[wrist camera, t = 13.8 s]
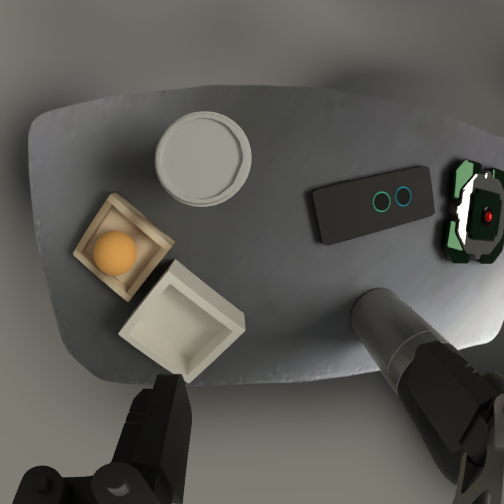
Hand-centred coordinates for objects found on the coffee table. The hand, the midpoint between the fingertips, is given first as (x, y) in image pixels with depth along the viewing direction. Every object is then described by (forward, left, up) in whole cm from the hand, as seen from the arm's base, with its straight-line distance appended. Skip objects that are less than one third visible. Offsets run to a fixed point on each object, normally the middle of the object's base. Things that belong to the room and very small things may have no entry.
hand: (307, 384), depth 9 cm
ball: (+11, +15, -29) cm, 34 cm away
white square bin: (-3, +18, -33) cm, 37 cm away
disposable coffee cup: (+9, -2, -33) cm, 34 cm away
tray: (+11, +15, -33) cm, 38 cm away
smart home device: (-12, -14, -34) cm, 39 cm away
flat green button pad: (-29, -29, -34) cm, 53 cm away
